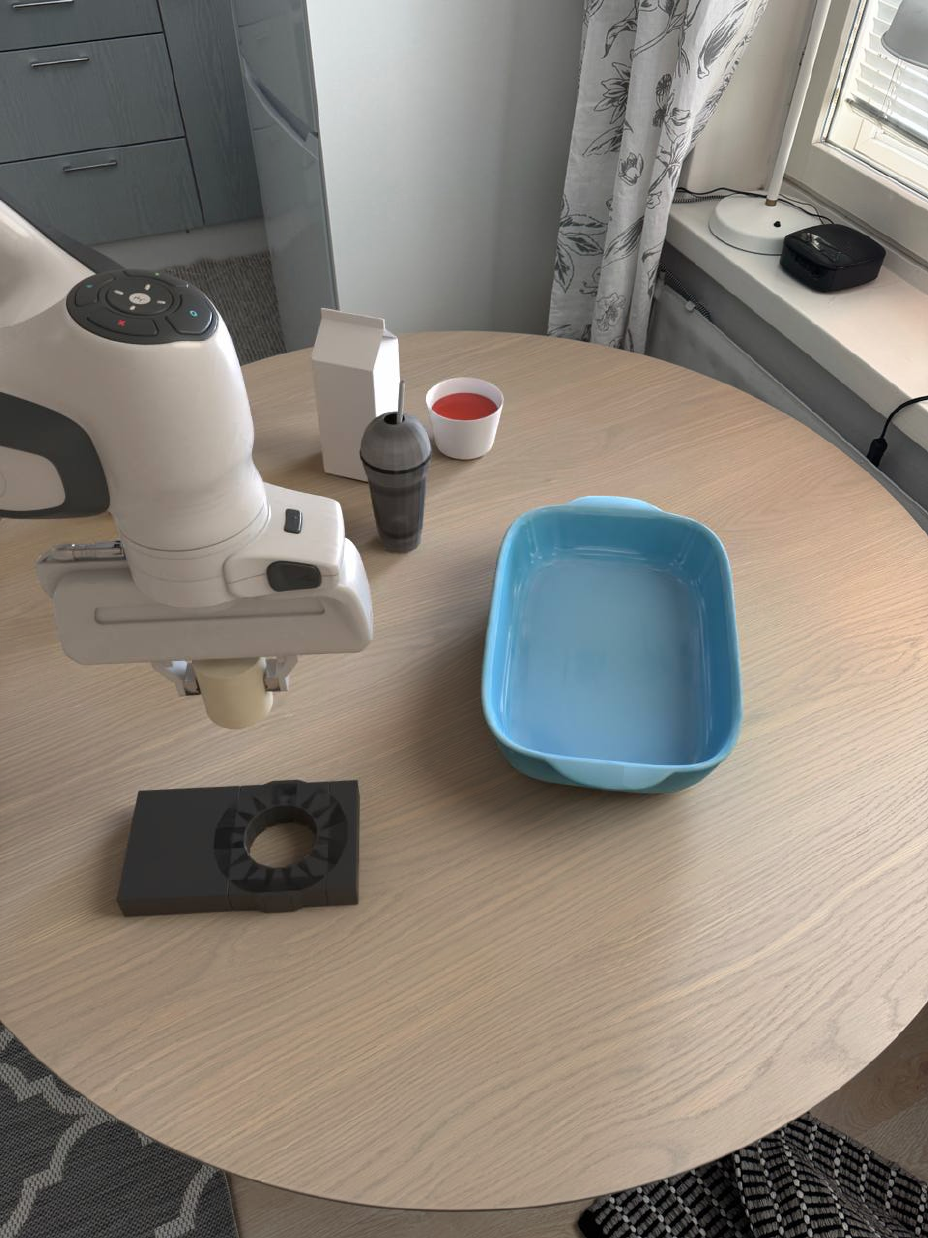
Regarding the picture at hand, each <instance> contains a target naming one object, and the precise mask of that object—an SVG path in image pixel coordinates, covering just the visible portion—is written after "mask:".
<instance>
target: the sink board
mask: <svg viewBox="0 0 928 1238" xmlns="http://www.w3.org/2000/svg"><path fill="white" fill-rule="evenodd" d="M360 815H361V794H360V786H359V780H357V779H348V780H330V781H329V780H328V781H310V782H309V781H305V780H301V779H283V780H281V779H280V780H270V781H268V782H266V783H264V784H247V785H245V784H243V785H228V786H226V785H225V786H208V787H207V786H206V787H188V788H187V787H185V788H166V789H165V788H164V789H146V790H145V789H144V790H143V789H142V790H138V791H137V795H136V800H135V805H134V811H133V815H132V821H131V825H130V826H131V827H130V831H129V835H128V840H127V846H126V850H125V855H124V859H123V865H122V870H121V875H120V880H119V886H118V891H117V896H116V903H117V905H118V908H119V909H120V911H121V914H122V915H123V917H124V918H128V917H129V918H130V917H145V916H161V915H162V916H164V915H165V916H166V915H182V914H183V915H184V914H202V913H218V912H222V913H223V912H240V911H243V912H244V911H260V912H263V913H266V914H271V913H290V912H297V911H298V910H301V909H303V908H311V907H312V908H313V907H314V908H317V907H328V906H329V907H334V906H348V905H349V906H351V905H359V901H360V900H359V899H360V898H359V897H360V894H359V893H360V891H359V890H360V829H361V827H360V825H361V824H360V822H361V821H360V818H361V817H360ZM281 823H283V824H284V823H296V824H299V825H303V826H306V827H307V828H308V829H309V830H311V831H312V833H314V834H315V836H316V839H315V842H314V845H313V846H312V848H311V850H310V851H309V852H308V853H307V854H306V855H305V856H304V857H303V858H302V859H300V860H299V861H297V862H294V863H291V864H289V865H286V866H277V867H271V866H268V865H265V864H261V863H258V861H256V859H254V858H253V857H252V856H251V848H252V846H253V844H254V842H255V841H256V839H257V837H258V836H259V835H260V834H262V833H263V832H265V830H267V829H268V828H270V827H272V826H276V825H278V824H281Z"/></svg>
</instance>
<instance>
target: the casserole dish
mask: <svg viewBox="0 0 928 1238" xmlns="http://www.w3.org/2000/svg"><path fill="white" fill-rule="evenodd" d="M734 593H735V592H734V585H733V577H732V570H731V565H730V560H729V556H728V553H727V551H726V548H725V546H724V545H723V542H722V541H721V539H720V538H719V537H718V536H717V534H716V533H715V532H714V531H713V530H711V529H710V528H709V527H707V526H706V525H705V524H703V523H701V521H700V522H699V521H697V520H695V519H693V518H690V517H687V516H683V515H680V514H676V513H672V512H667V511H664V510H662V509H660V508H658V507H657V506H654V505H652V504H651V503H648V502H646V501H644V500H641V499H636V498H631V497H626V496H625V497H624V496H616V495H615V496H614V495H587V496H586V495H585V496H581V497H578V498H576V499H573V500H571V501H569V502H567V503H563V504H554V505H553V504H552V505H551V504H550V505H544V506H539V507H538V506H537V507H536V508H533V509H529V510H527V511H525V512H523V513H522V514H520V515H519V516H518V517H516V518H515V519H514V520H513V521H512V522H511V524H510V525H509V526H508V528H507V529H506V531H505V533H504V535H503V537H502V540H501V543H500V546H499V550H498V554H497V558H496V562H495V569H494V574H493V582H492V588H491V594H490V595H491V597H490V604H489V611H488V617H487V623H486V632H485V641H484V650H483V655H482V656H483V657H482V664H481V665H482V666H481V678H480V680H481V681H480V699H481V701H480V702H481V708H482V713H483V717H484V720H485V723H486V726H487V727H488V729H489V730H490V733H491V734H492V736H493V738H494V740H495V743H496V745H497V747H498V748H499V750H500V752H501V754H502V755H503V757H504V758H505V760H507V762H508V763H509V764H510V765H511V766H512V767H513V768H514V769H516V770H517V771H518V772H519V773H521V774H523V775H525V776H527V777H529V778H531V779H535V780H538V781H541V782H544V783H552V784H558V785H563V786H564V785H565V786H572V787H579V788H589V789H594V790H600V791H610V792H623V793H635V794H669V793H675V792H676V793H677V792H679V791H683V790H685V789H688V788H690V787H693V786H695V785H697V784H699V783H700V782H702V781H703V780H704V779H706V778H707V777H708V776H709V775H710V774H711V773H712V772H713V771H714V770H716V768H718V766H719V765H721V764H722V763H723V762H724V761H725V760H726V759H727V758H728V757H729V756H730V755H731V754H732V752H733V750H734V749H735V746H736V745H737V743H738V740H739V737H740V735H741V730H742V725H743V713H744V712H743V711H744V700H743V699H744V698H743V697H744V696H743V695H744V694H743V677H742V666H741V658H740V646H739V636H738V625H737V614H736V603H735V594H734Z"/></svg>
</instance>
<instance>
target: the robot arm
mask: <svg viewBox="0 0 928 1238" xmlns="http://www.w3.org/2000/svg"><path fill="white" fill-rule="evenodd" d="M254 443H255V427H254V422H253V417H252V411H251V407H250V402H249V397H248V392H247V389H246V384H245V381H244V376H243V372H242V368H241V365H240V362H239V358H238V355H237V352H236V349H235V345H234V342H233V340H232V336H231V334H230V332H229V330H228V327H227V325H226V323H225V320H224V319H223V317H222V316H221V313H220V312H219V311H218V309H217V308H216V307H215V304H213V301H211V300H210V299H209V297H207V296H206V294H205V293H204V292H203V291H201V290H200V289H199V288H197V287H196V286H195V285H193V284H192V283H190V282H188V281H186V280H184V279H182V278H179V277H177V276H174V275H171V274H167V273H165V272H160V271H155V270H150V269H139V268H126V267H124V266H123V265H122V264H120V263H118V262H116V261H115V260H113V259H112V258H111V257H108V256H107V255H105V254H104V253H101V252H100V251H98V250H96V249H94V248H92V247H90V246H88V245H87V244H85V243H83V242H81V241H79V240H77V239H75V238H73V237H71V236H70V235H68V234H66V233H65V232H62V231H61V230H59V229H58V228H56V227H55V226H53V225H52V224H50V223H49V222H47V221H46V220H44V219H43V218H41V217H40V216H39V215H37V214H36V213H35V212H33V211H32V210H31V209H30V208H28V207H27V206H25V204H23V203H22V202H21V201H19V199H17V198H15V197H14V196H13V195H12V194H10V193H9V192H8V191H7V190H5V189H4V188H3V187H1V186H0V518H3V519H8V520H9V519H11V520H65V519H66V520H67V519H68V520H69V519H81V518H91V517H95V516H99V515H102V514H104V513H105V512H108V513H110V514H111V517H112V519H113V523H114V525H115V526H116V530H117V533H118V534H117V535H118V537H119V540H102V541H101V540H100V541H94V542H86V543H85V542H84V543H76V542H61V543H55V544H53V546H52V547H51V549H48V550H45V551H44V552H42V553H41V554H40V555H39V556H37V558H36V560H35V563H34V570H35V575H36V578H37V580H38V582H39V584H40V587H41V589H42V591H43V592H44V593H45V594H46V596H48V597H49V598H51V599H52V605H53V606H52V607H53V617H54V623H55V625H56V632H57V635H58V638H59V641H60V645H61V649H62V651H63V653H64V655H65V656H66V657H67V658H69V659H71V660H72V661H74V662H76V663H77V664H78V665H81V666H98V665H99V666H100V665H119V664H121V665H122V664H140V663H150V664H151V665H150V666H151V667H152V669H153V671H156V672H157V673H159V674H160V675H161V676H163V677H164V678H165V679H167V680H168V681H170V682H171V683H174V685H175V689H176V691H177V695H178V697H193V696H202V695H201V691H200V688H199V684H198V681H197V677H196V674H195V670H194V667H193V664H192V662H187V661H192V660H207V659H229V658H250V657H265V658H270V659H265V662H266V671H265V675H264V680H265V685H267V687H266V689H267V692H272V693H279V692H289V686H290V673H291V672H292V671H293V670H294V668H295V666H296V665H297V663H298V662H299V656H310V655H335V654H357V653H361V652H363V651H364V650H365V649H367V647H368V646H370V644H371V643H372V642H373V640H374V639H373V638H374V614H373V613H374V612H373V610H374V609H373V601H372V595H371V589H370V585H369V580H368V576H367V573H366V570H365V566H364V562H363V559H362V557H361V555H360V552H359V551H358V549H357V547H356V546H355V544H354V543H353V542H352V541H351V540H350V539H348V538H347V537H346V531H345V530H346V528H345V521H344V515H343V510H342V506H341V504H340V503H339V502H338V501H337V500H335V499H332V498H330V497H326V496H323V495H316V494H313V493H307V492H302V491H298V490H293V489H290V488H285V487H281V486H278V485H275V484H271V483H269V482H266V481H263V478H262V477H261V474H260V472H259V471H258V468H257V467H256V465H255V464H254V461H253V449H254ZM272 657H275V658H272Z"/></svg>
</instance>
